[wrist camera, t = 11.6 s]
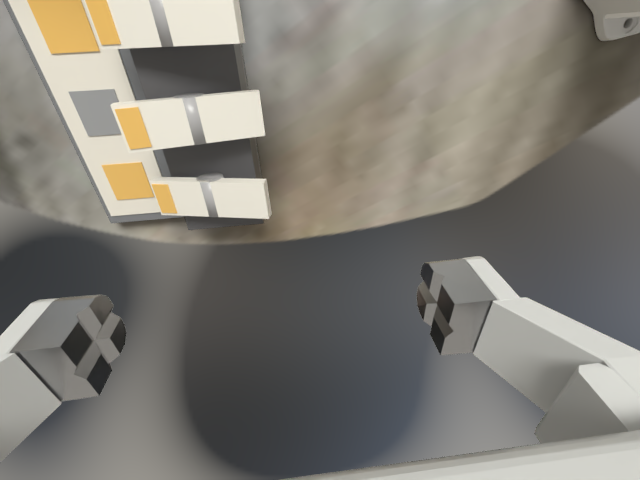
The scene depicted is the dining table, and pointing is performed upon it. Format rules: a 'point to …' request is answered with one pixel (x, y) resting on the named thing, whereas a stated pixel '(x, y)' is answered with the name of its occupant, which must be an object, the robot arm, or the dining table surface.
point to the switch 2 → (189, 119)
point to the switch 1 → (165, 22)
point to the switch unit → (130, 85)
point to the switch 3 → (212, 196)
